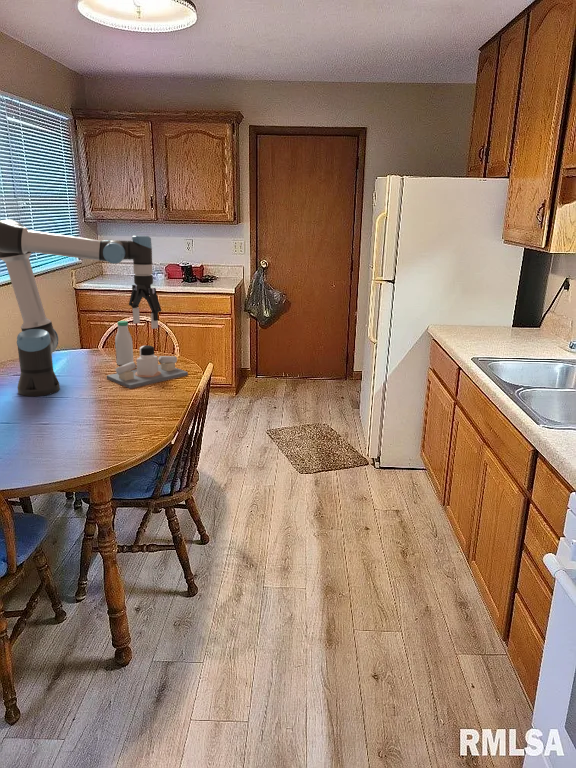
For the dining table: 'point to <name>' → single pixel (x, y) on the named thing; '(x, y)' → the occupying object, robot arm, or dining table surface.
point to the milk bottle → (123, 344)
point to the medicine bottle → (147, 361)
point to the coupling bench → (133, 380)
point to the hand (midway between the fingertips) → (145, 325)
